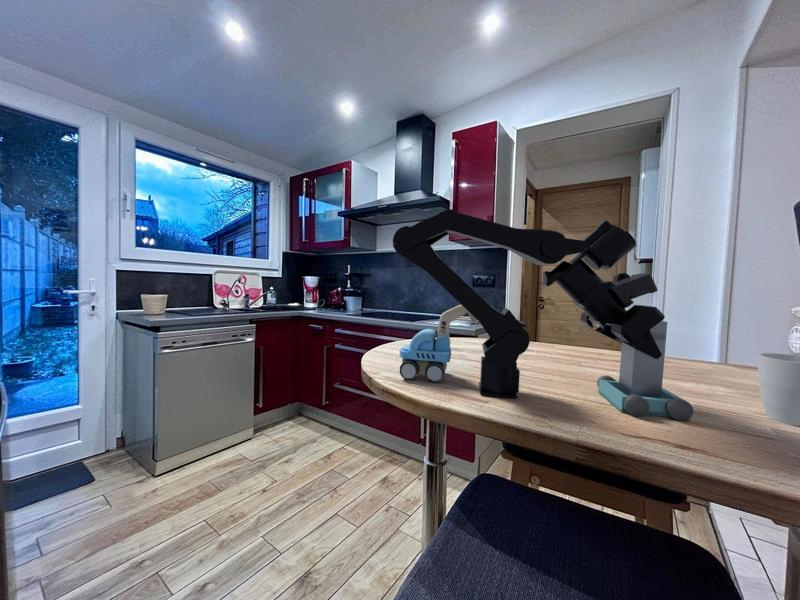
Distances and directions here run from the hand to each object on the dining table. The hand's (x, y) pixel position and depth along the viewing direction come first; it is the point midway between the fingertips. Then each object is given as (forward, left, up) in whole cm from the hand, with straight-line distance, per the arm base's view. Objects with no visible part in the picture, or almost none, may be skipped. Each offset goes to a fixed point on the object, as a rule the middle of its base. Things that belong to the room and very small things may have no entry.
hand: (650, 354), depth 56 cm
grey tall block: (-1, 0, -7) cm, 7 cm away
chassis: (-1, 0, -9) cm, 9 cm away
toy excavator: (-37, +6, -9) cm, 39 cm away
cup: (+20, -1, -9) cm, 22 cm away
